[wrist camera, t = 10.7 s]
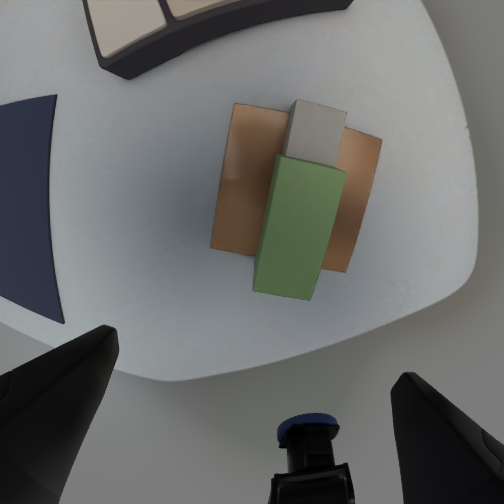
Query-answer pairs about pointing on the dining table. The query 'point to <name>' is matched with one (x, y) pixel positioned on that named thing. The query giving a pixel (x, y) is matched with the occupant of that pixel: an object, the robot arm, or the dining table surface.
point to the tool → (301, 203)
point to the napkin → (27, 207)
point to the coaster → (260, 174)
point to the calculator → (176, 26)
